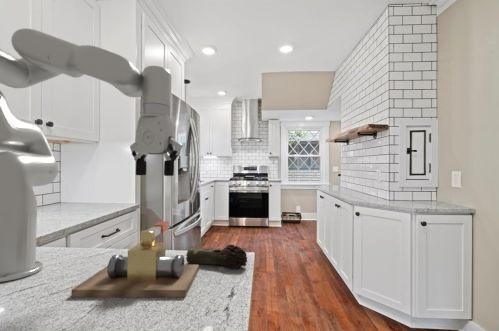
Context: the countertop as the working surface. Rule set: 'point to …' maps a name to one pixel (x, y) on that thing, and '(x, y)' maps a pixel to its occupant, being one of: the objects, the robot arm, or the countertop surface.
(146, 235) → the valve lever
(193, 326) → the countertop surface
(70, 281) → the countertop surface
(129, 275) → the pipe and valve
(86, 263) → the countertop surface
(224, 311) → the countertop surface
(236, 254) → the olive brown elongated lump
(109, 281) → the mounting board
